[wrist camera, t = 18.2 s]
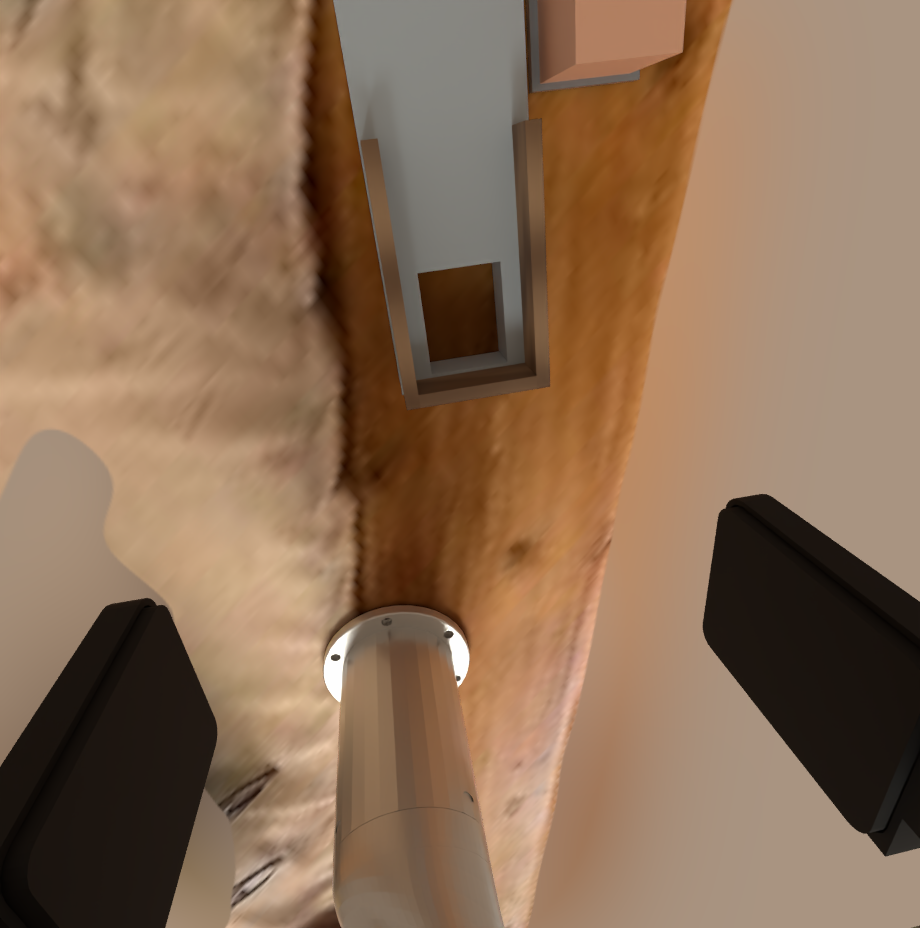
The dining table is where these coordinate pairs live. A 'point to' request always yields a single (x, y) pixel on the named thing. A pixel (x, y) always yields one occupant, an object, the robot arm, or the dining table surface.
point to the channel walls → (531, 279)
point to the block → (606, 36)
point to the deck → (444, 146)
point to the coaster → (535, 69)
